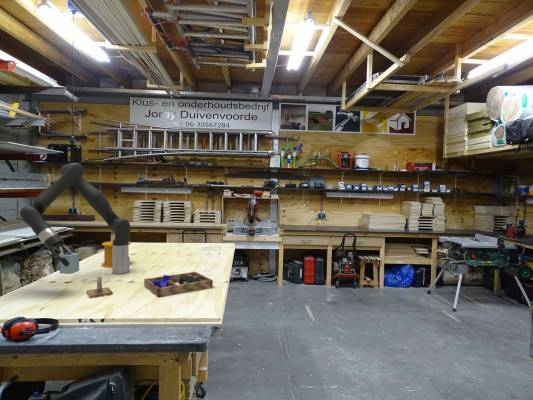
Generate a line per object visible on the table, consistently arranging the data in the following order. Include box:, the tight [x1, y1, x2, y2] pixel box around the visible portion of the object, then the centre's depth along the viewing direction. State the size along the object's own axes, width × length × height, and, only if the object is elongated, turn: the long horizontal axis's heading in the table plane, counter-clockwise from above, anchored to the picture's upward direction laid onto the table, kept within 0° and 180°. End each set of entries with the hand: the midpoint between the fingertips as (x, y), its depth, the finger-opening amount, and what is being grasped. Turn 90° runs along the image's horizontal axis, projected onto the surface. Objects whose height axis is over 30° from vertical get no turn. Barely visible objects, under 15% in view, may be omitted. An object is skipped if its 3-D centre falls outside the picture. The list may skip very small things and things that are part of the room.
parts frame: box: [143, 271, 214, 298], centre depth 184 cm, size 30×21×4 cm
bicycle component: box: [177, 275, 204, 285], centre depth 188 cm, size 12×7×15 cm
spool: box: [101, 240, 132, 269], centre depth 232 cm, size 18×18×15 cm
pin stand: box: [85, 276, 114, 299], centre depth 170 cm, size 10×10×8 cm
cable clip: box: [153, 274, 170, 288], centre depth 178 cm, size 12×4×6 cm, turn 170°
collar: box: [58, 252, 80, 275], centre depth 169 cm, size 6×6×9 cm
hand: (72, 263), depth 169 cm, fingers closed on collar, 6 cm apart
